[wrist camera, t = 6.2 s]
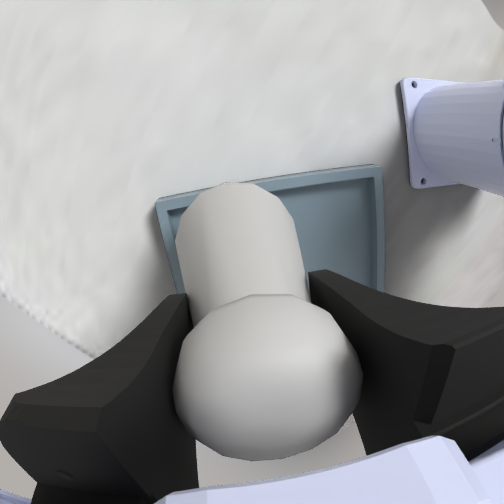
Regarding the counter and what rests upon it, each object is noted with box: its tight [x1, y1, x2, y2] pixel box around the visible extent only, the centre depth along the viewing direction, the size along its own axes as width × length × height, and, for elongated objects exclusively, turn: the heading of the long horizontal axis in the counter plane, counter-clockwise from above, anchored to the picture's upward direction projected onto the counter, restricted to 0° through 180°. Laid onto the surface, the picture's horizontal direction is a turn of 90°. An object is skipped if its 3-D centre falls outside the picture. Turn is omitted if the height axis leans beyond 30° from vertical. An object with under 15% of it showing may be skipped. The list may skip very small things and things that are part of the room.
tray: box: [155, 164, 385, 294], centre depth 21 cm, size 14×14×2 cm
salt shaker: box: [172, 182, 363, 461], centre depth 12 cm, size 6×6×13 cm
